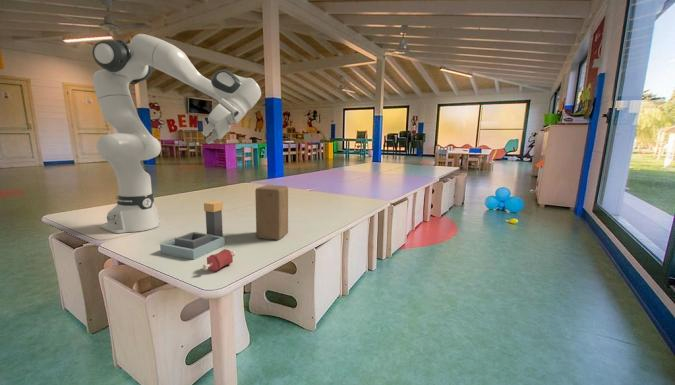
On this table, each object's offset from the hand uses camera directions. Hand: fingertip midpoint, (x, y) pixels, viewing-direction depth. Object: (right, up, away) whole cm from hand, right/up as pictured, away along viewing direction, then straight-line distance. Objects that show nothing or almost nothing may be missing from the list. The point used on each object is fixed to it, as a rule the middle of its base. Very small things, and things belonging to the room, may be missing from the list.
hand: (205, 138), depth 104 cm
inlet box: (0, -39, -7) cm, 40 cm away
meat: (+14, -43, -20) cm, 49 cm away
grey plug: (+2, -38, +5) cm, 38 cm away
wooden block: (+23, -38, +9) cm, 45 cm away
